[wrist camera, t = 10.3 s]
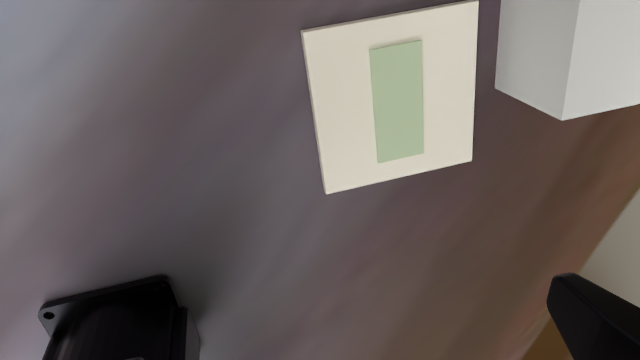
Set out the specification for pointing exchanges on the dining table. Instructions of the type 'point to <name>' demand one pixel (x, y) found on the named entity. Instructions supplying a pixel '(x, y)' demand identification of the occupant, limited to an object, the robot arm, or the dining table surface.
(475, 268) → the dining table surface
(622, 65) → the grey cube
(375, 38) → the card
